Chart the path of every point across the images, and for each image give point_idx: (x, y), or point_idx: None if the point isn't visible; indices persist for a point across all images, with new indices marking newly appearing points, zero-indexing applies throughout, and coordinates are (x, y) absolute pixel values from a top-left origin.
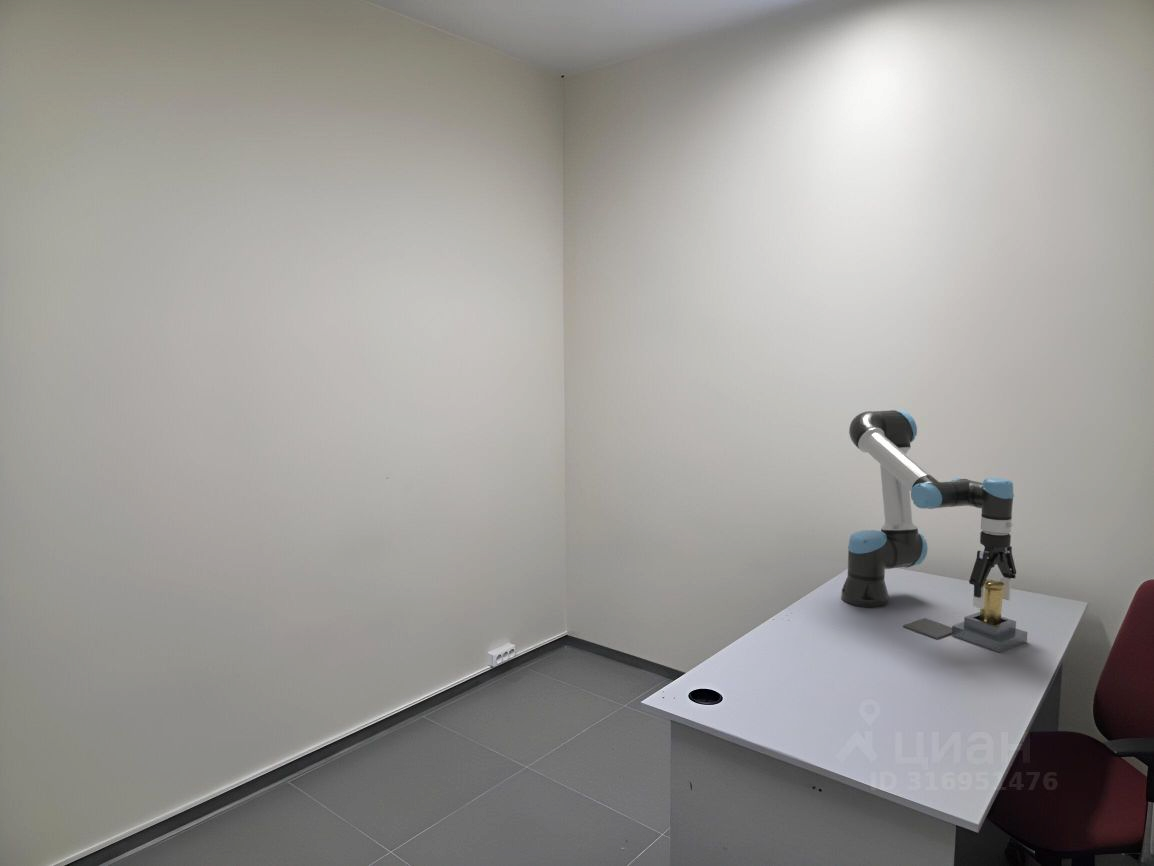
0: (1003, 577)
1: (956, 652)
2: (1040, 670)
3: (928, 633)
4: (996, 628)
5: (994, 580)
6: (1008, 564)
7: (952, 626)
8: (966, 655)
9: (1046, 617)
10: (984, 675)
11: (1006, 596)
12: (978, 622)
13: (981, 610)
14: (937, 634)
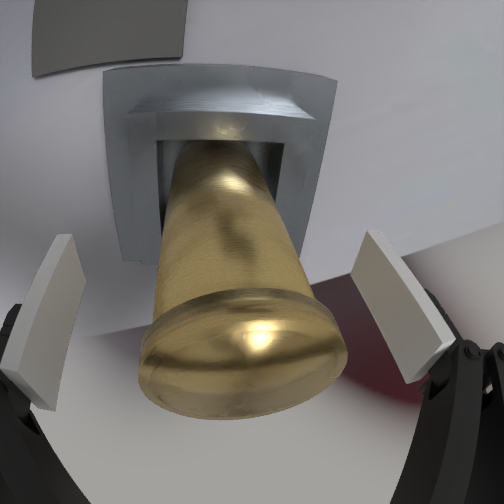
0: (428, 359)
1: (19, 173)
2: (134, 319)
3: (39, 35)
4: (141, 257)
5: (341, 359)
6: (481, 442)
7: (104, 72)
8: (29, 199)
9: (491, 191)
10: (2, 278)
11: (362, 278)
12: (131, 186)
13: (170, 199)
14: (57, 53)
